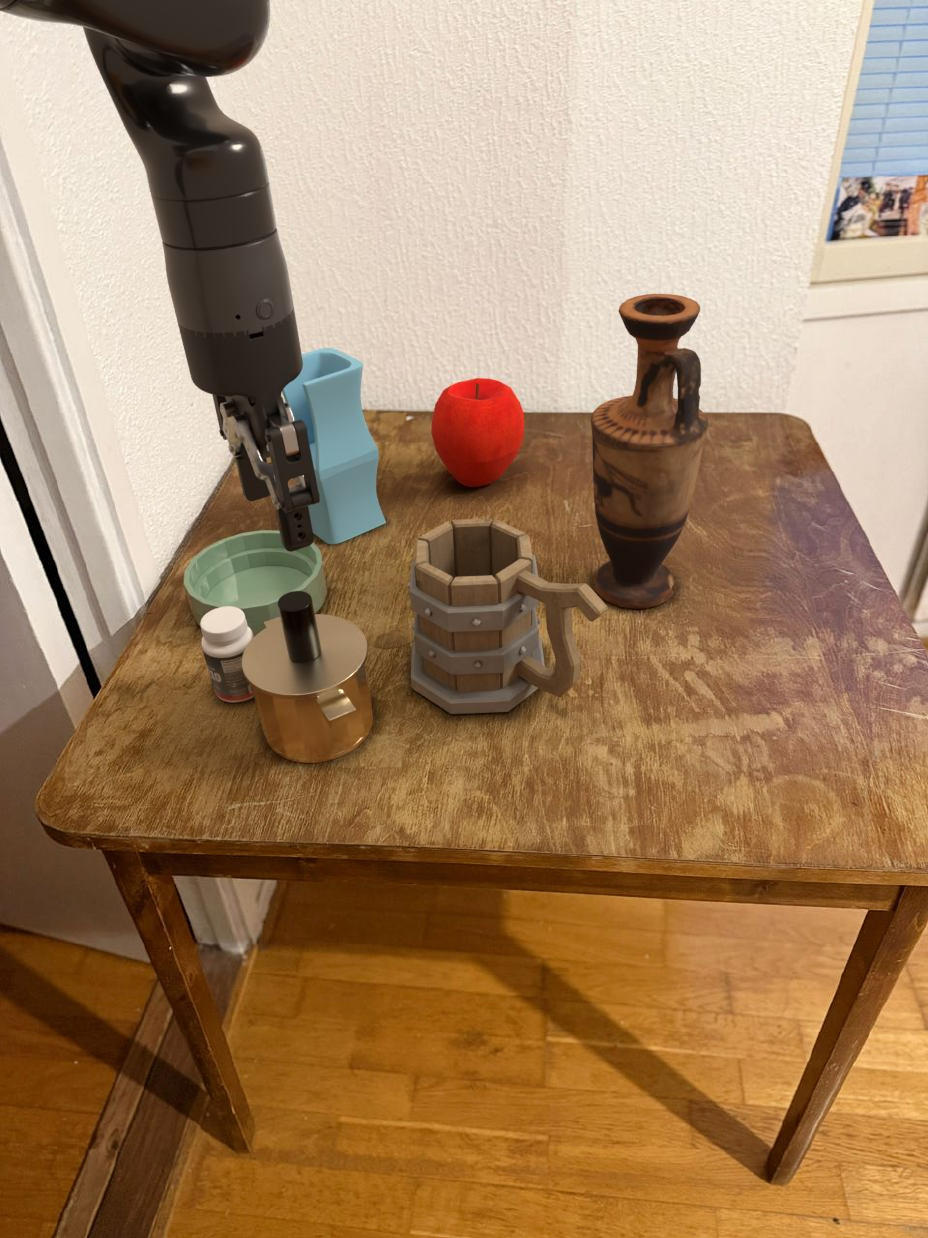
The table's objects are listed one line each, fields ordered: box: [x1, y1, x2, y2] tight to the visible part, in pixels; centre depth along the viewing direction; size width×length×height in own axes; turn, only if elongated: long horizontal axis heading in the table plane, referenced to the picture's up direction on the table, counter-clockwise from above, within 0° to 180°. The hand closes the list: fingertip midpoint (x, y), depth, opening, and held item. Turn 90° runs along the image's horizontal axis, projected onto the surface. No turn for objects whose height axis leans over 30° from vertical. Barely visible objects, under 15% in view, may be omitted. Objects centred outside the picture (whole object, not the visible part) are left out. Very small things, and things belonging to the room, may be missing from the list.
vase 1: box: [281, 347, 387, 545], centre depth 102 cm, size 8×8×20 cm
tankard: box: [407, 517, 608, 715], centre depth 79 cm, size 20×13×15 cm, turn 46°
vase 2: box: [590, 293, 709, 610], centre depth 86 cm, size 11×11×30 cm
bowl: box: [183, 529, 328, 637], centre depth 95 cm, size 14×14×4 cm
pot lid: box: [242, 591, 369, 699], centre depth 74 cm, size 11×11×7 cm
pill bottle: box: [199, 606, 254, 703], centre depth 82 cm, size 5×5×8 cm
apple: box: [430, 377, 525, 488], centre depth 110 cm, size 12×12×13 cm
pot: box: [251, 617, 374, 764], centre depth 78 cm, size 10×15×8 cm, turn 30°
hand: (278, 520), depth 67 cm, fingers open, 8 cm apart
